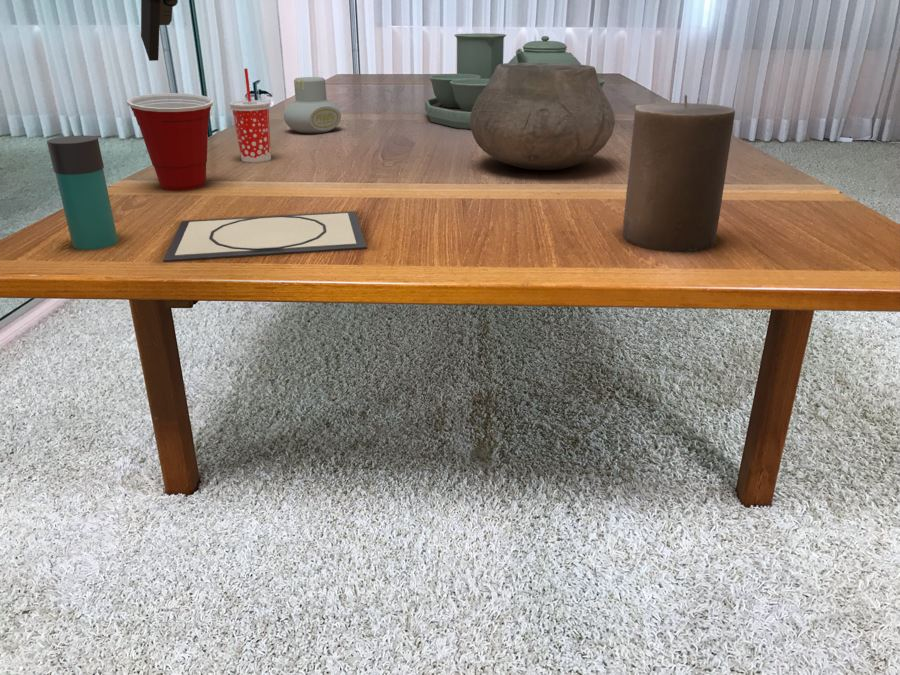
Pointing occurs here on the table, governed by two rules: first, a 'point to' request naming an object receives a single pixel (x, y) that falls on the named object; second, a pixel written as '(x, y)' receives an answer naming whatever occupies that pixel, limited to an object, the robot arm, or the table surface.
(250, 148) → the beverage cup
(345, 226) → the drawing board
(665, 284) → the table surface
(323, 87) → the air freshener
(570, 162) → the clay pot
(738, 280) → the table surface
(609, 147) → the table surface
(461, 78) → the tea set
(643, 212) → the pillar candle
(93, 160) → the dot marker
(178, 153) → the plastic cup
